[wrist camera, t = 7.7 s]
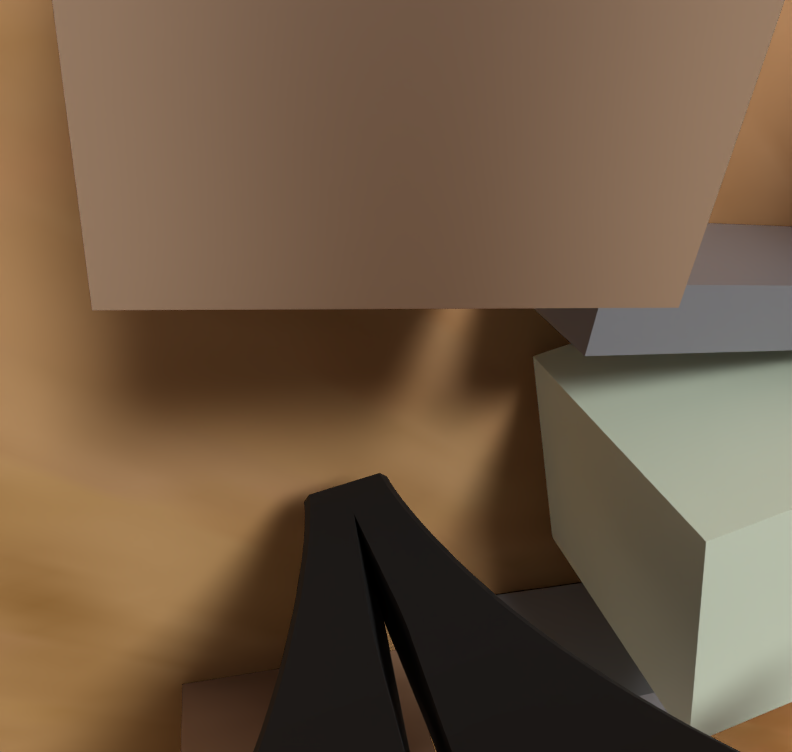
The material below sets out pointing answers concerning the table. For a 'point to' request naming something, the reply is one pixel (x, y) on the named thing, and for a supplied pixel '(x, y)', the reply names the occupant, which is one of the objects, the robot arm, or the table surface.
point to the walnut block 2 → (264, 712)
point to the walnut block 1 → (402, 148)
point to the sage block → (680, 516)
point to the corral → (670, 334)
